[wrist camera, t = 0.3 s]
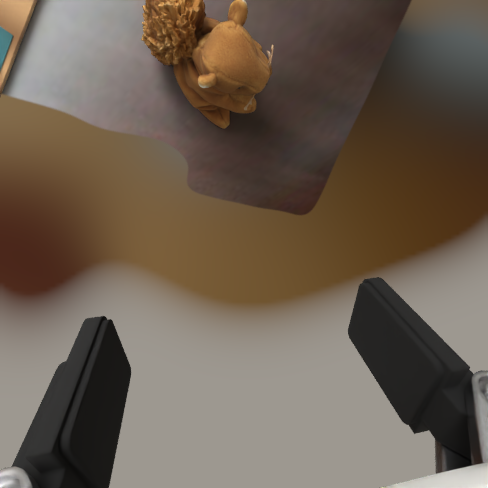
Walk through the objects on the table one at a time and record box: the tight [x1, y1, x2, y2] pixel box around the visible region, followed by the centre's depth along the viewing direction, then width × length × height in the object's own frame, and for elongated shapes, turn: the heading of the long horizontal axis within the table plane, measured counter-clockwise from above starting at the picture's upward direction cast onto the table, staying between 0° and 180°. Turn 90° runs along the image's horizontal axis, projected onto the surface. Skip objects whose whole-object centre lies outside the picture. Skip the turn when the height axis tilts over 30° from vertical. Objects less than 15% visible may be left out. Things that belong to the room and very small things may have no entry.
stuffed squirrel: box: [141, 0, 274, 129], centre depth 26 cm, size 10×14×13 cm
